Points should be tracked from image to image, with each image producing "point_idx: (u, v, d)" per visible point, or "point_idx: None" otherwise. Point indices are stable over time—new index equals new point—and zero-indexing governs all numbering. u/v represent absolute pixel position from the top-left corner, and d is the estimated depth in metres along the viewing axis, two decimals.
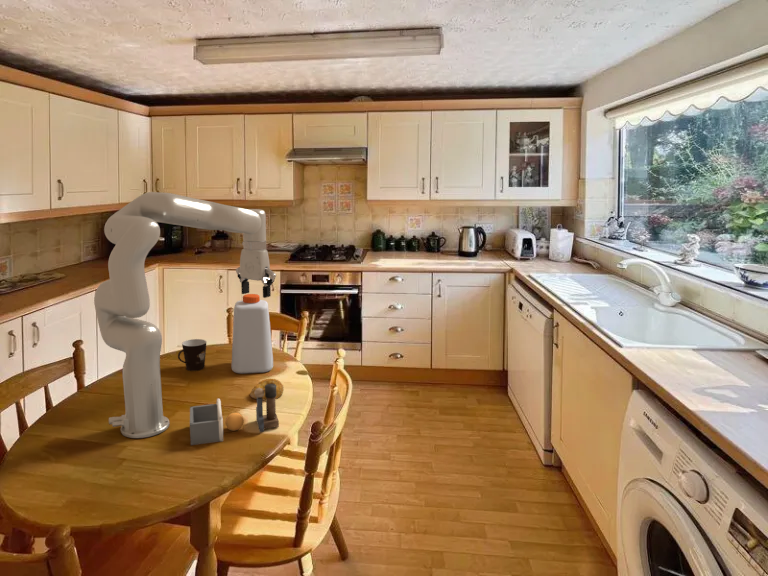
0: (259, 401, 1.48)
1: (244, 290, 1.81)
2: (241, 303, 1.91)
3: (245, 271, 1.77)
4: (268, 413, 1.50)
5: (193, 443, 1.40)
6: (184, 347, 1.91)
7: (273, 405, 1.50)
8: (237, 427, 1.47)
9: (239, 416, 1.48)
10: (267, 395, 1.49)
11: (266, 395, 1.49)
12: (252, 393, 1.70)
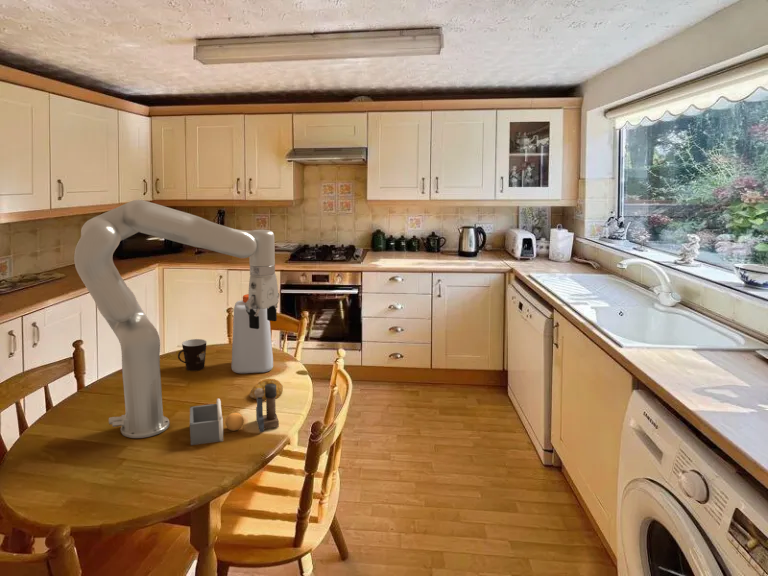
0: (259, 401, 1.48)
1: None
2: (241, 303, 1.91)
3: (267, 300, 1.58)
4: (268, 413, 1.50)
5: (193, 443, 1.40)
6: (184, 347, 1.91)
7: (273, 405, 1.50)
8: (237, 427, 1.47)
9: (239, 416, 1.48)
10: (267, 395, 1.49)
11: (266, 395, 1.49)
12: (251, 393, 1.70)
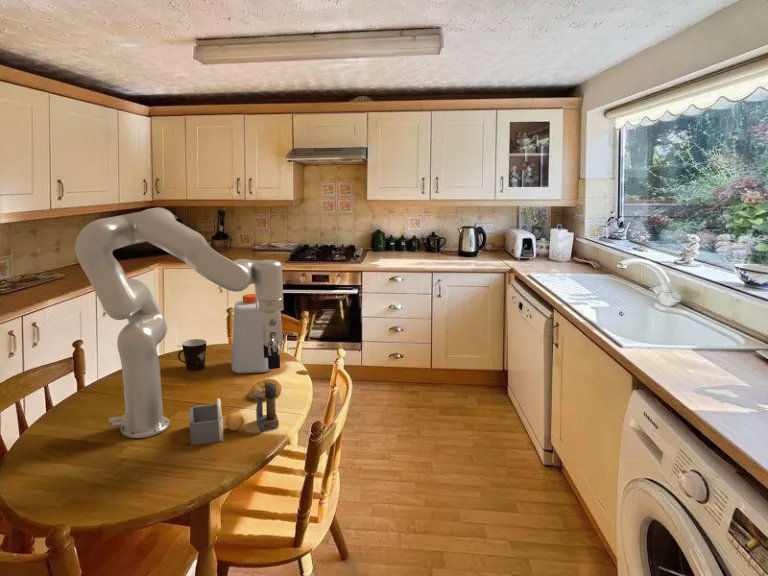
0: (259, 401, 1.48)
1: None
2: (241, 303, 1.91)
3: None
4: (268, 413, 1.50)
5: (193, 443, 1.40)
6: (184, 347, 1.91)
7: (273, 405, 1.50)
8: (237, 427, 1.47)
9: (239, 416, 1.48)
10: (267, 395, 1.49)
11: (266, 395, 1.49)
12: (250, 393, 1.70)
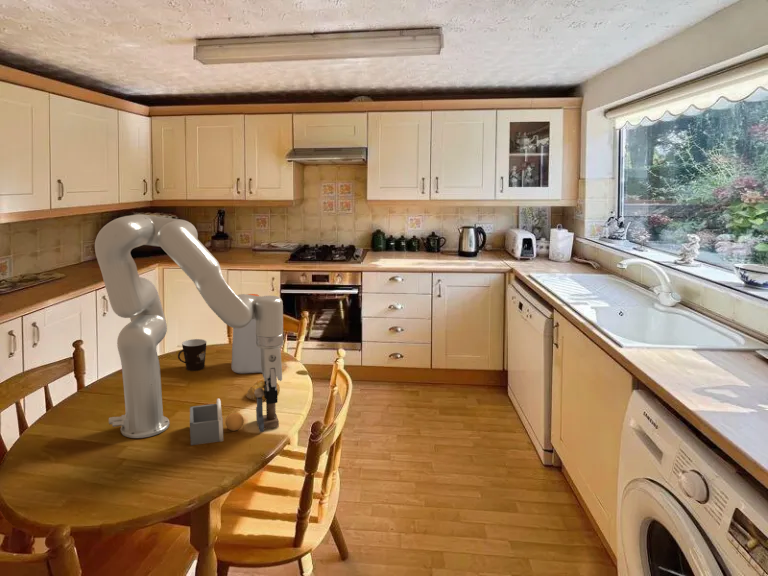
0: (259, 401, 1.48)
1: None
2: None
3: None
4: (268, 413, 1.50)
5: (193, 443, 1.40)
6: (184, 347, 1.91)
7: (273, 405, 1.50)
8: (237, 427, 1.47)
9: (239, 416, 1.48)
10: None
11: None
12: (248, 394, 1.69)
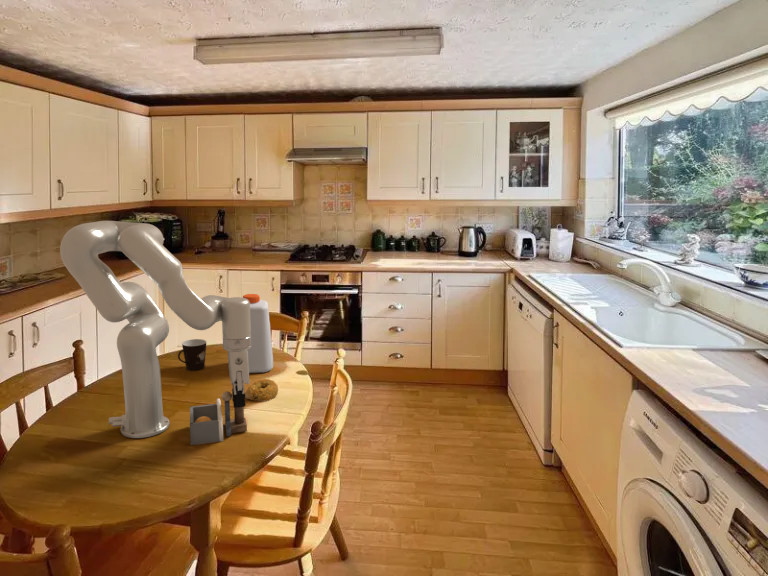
0: (226, 405, 1.45)
1: None
2: None
3: None
4: (236, 417, 1.47)
5: (193, 443, 1.40)
6: (184, 347, 1.91)
7: (241, 409, 1.47)
8: None
9: None
10: None
11: None
12: (247, 394, 1.69)
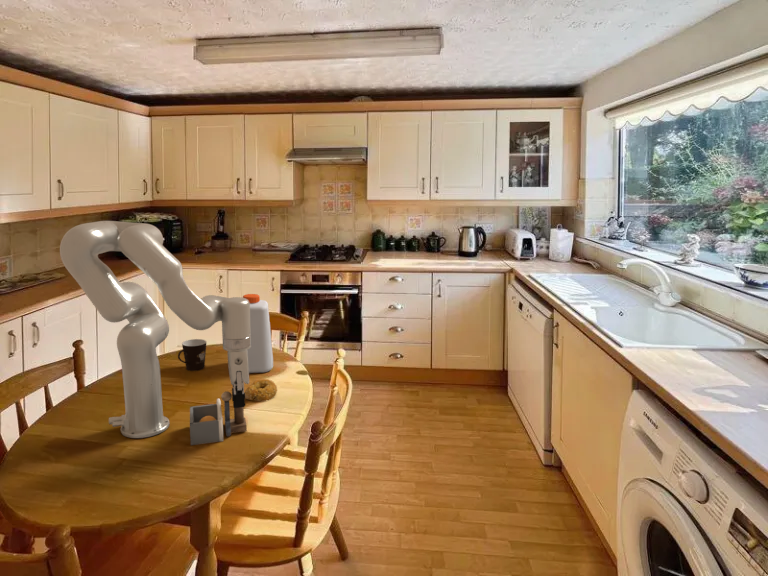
0: (226, 405, 1.45)
1: None
2: None
3: None
4: (236, 417, 1.47)
5: (193, 443, 1.40)
6: (184, 347, 1.91)
7: (241, 409, 1.47)
8: None
9: None
10: None
11: None
12: (246, 394, 1.69)
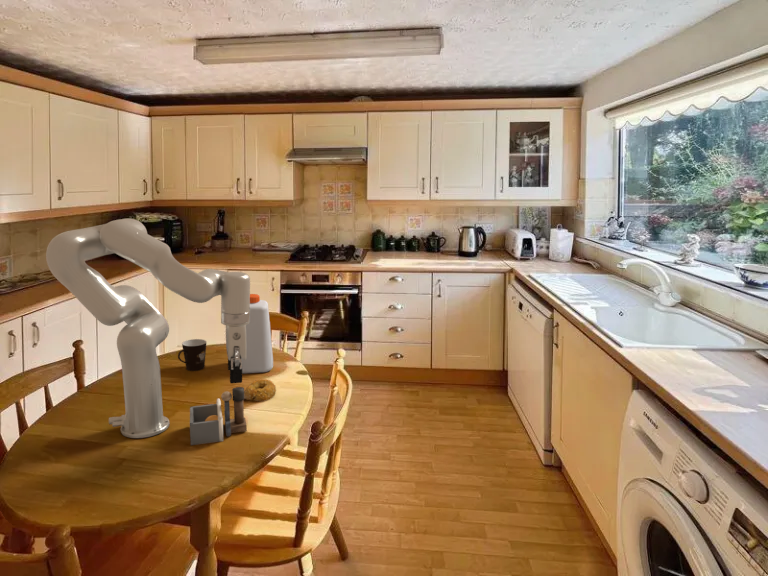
0: (226, 405, 1.45)
1: None
2: None
3: None
4: (236, 417, 1.47)
5: (193, 443, 1.40)
6: (184, 347, 1.91)
7: (241, 409, 1.47)
8: None
9: None
10: (234, 399, 1.46)
11: (233, 399, 1.46)
12: (245, 394, 1.69)
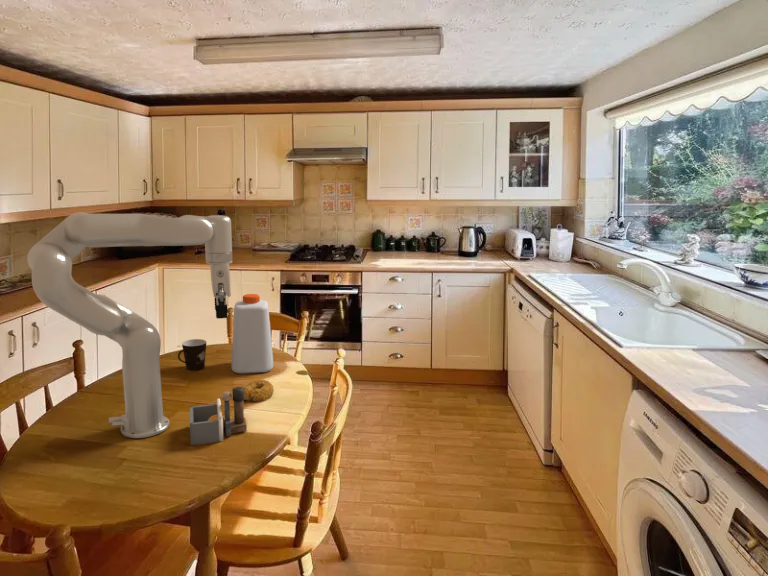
0: (226, 405, 1.45)
1: None
2: (241, 303, 1.91)
3: None
4: (236, 417, 1.47)
5: (193, 443, 1.40)
6: (184, 347, 1.91)
7: (241, 409, 1.47)
8: None
9: None
10: (234, 399, 1.46)
11: (233, 399, 1.46)
12: None
